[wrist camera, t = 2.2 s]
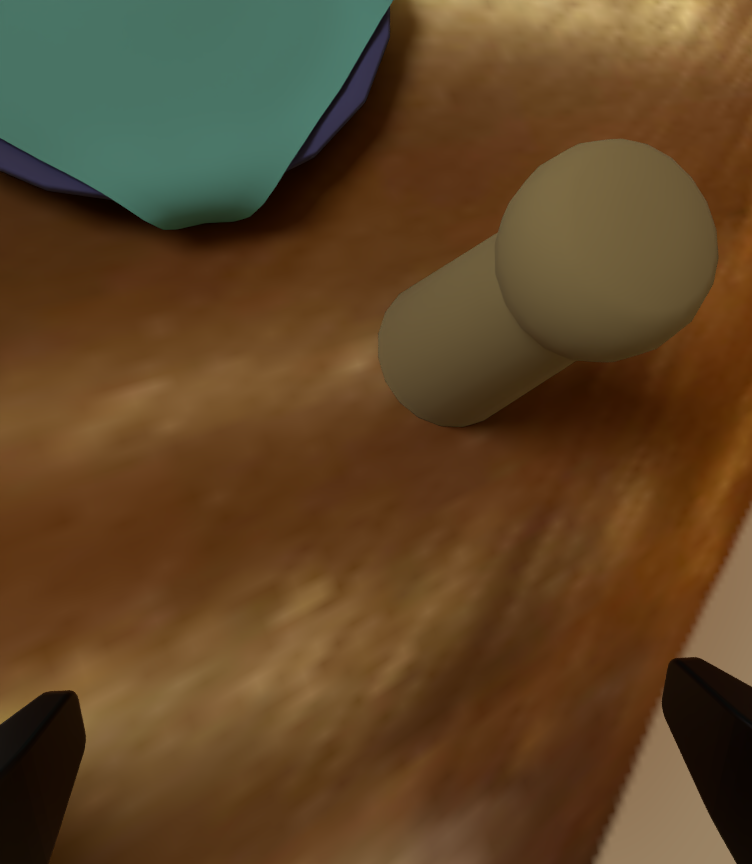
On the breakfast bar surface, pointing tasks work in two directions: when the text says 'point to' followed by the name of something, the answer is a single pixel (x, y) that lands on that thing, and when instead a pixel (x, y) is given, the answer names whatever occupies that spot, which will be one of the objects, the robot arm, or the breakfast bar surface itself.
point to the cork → (555, 284)
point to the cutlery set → (180, 97)
